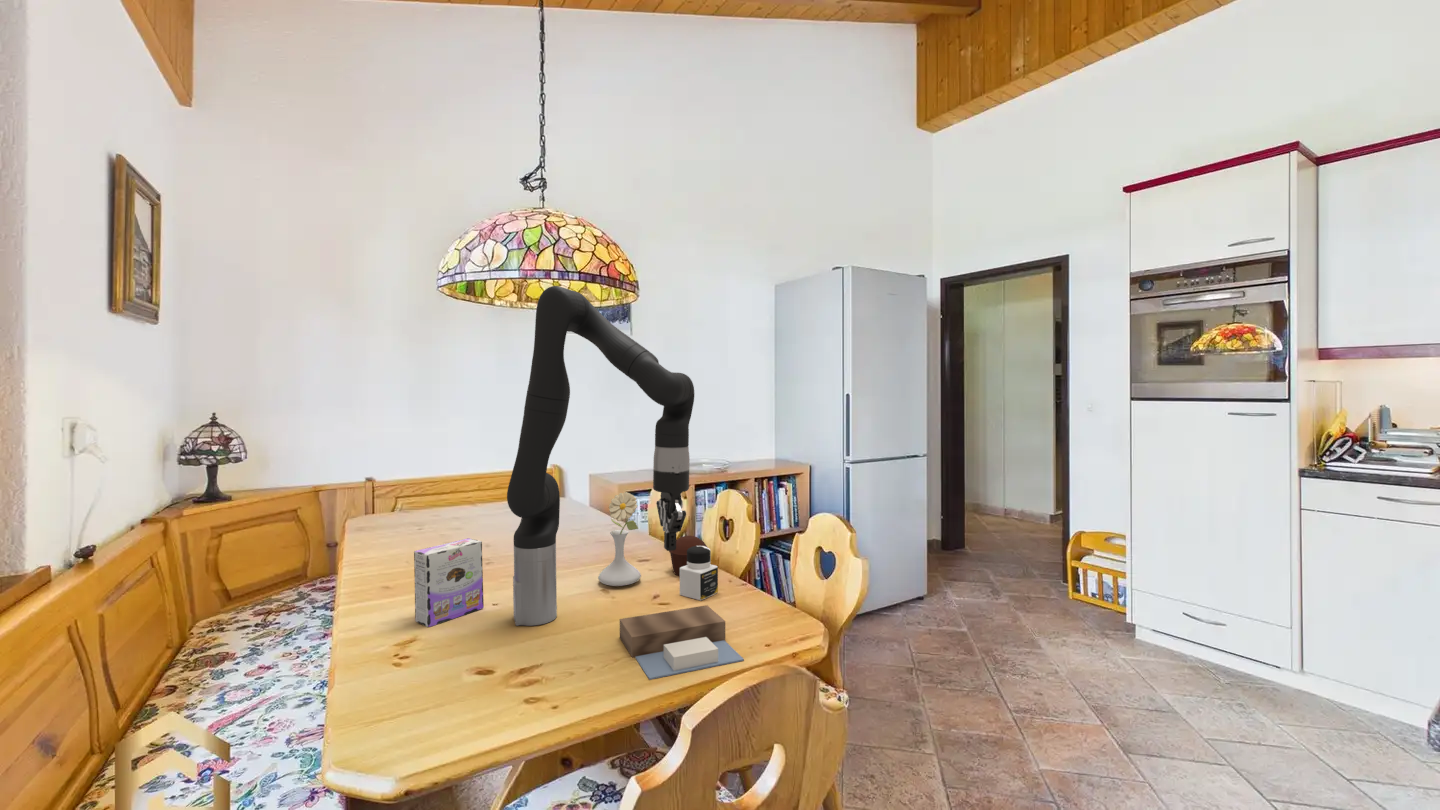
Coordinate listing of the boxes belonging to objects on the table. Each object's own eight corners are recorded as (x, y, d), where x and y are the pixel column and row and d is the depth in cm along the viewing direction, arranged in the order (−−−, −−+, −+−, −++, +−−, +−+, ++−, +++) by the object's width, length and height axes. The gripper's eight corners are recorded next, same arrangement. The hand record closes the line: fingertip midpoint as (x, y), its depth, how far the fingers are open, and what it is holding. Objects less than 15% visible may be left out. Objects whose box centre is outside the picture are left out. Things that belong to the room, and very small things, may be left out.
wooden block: (632, 657, 118) (632, 637, 118) (619, 637, 128) (619, 619, 127) (725, 640, 126) (725, 621, 126) (707, 622, 135) (707, 605, 135)
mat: (649, 679, 109) (649, 678, 109) (635, 657, 118) (635, 656, 118) (743, 660, 117) (743, 659, 117) (724, 641, 126) (724, 640, 126)
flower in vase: (589, 583, 163) (588, 490, 162) (623, 573, 171) (622, 485, 170) (619, 594, 154) (619, 497, 153) (653, 583, 162) (653, 491, 161)
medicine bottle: (700, 601, 149) (700, 553, 149) (679, 595, 153) (678, 548, 153) (718, 593, 155) (718, 546, 154) (696, 587, 159) (696, 542, 159)
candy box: (470, 603, 147) (469, 537, 147) (484, 609, 144) (483, 540, 143) (414, 622, 136) (412, 549, 136) (428, 628, 133) (426, 553, 132)
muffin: (671, 565, 178) (671, 532, 178) (709, 566, 178) (709, 532, 177) (667, 578, 166) (666, 542, 166) (707, 579, 166) (707, 543, 166)
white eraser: (663, 644, 118) (663, 657, 118) (673, 657, 112) (673, 670, 112) (706, 636, 121) (706, 649, 121) (718, 648, 116) (718, 661, 116)
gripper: (645, 464, 131) (644, 543, 132) (664, 473, 119) (662, 560, 120) (678, 463, 134) (676, 540, 135) (699, 471, 122) (698, 556, 122)
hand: (670, 549), depth 127 cm, fingers closed
